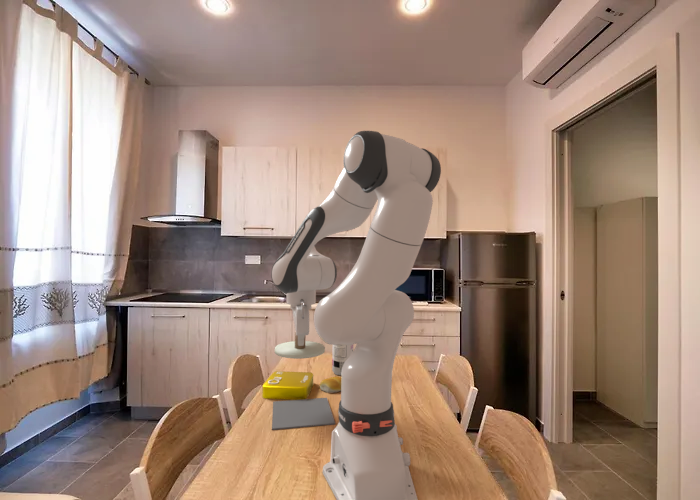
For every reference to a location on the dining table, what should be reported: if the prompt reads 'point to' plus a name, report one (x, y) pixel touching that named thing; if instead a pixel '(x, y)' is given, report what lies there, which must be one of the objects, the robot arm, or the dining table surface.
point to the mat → (301, 413)
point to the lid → (299, 349)
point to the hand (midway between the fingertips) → (300, 343)
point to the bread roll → (331, 384)
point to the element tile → (288, 385)
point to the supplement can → (340, 357)
